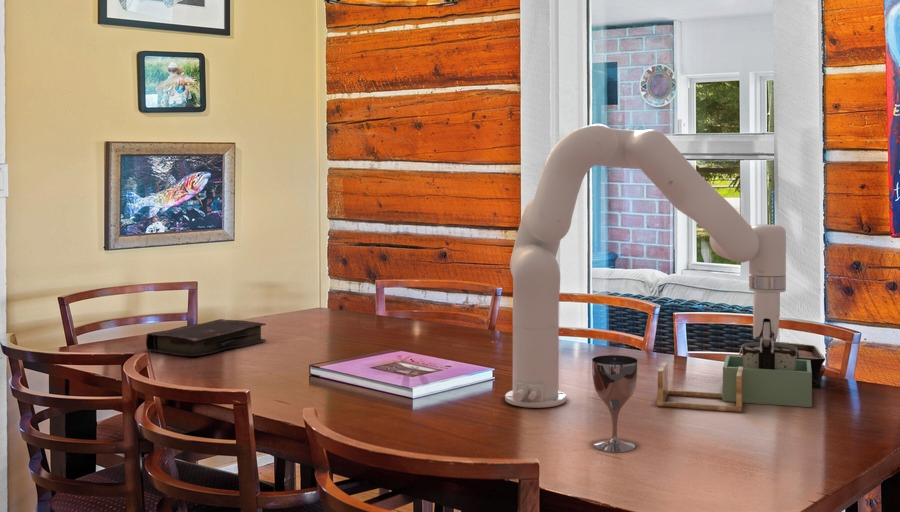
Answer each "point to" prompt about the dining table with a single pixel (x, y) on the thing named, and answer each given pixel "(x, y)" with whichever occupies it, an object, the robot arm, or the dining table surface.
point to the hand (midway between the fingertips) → (767, 367)
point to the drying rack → (696, 393)
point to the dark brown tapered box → (814, 356)
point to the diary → (205, 337)
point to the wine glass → (614, 392)
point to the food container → (783, 356)
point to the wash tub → (769, 384)
